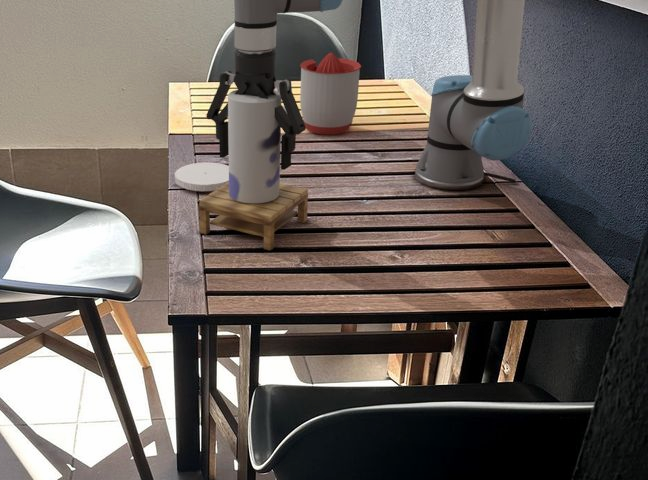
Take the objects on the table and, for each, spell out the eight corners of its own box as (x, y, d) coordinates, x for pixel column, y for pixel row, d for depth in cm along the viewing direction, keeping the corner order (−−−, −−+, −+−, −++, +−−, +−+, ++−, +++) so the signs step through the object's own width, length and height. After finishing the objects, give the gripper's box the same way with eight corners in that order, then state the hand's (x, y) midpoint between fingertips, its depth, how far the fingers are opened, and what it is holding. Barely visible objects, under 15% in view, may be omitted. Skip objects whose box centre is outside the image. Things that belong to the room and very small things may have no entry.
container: (275, 206, 156) (277, 102, 146) (224, 202, 158) (222, 100, 147) (282, 186, 164) (285, 88, 154) (234, 183, 166) (233, 85, 156)
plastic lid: (240, 174, 190) (240, 163, 188) (231, 197, 178) (231, 186, 177) (182, 171, 192) (181, 161, 190) (169, 193, 180) (168, 183, 179)
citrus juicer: (344, 116, 227) (349, 43, 217) (364, 136, 212) (370, 58, 202) (290, 120, 225) (292, 45, 214) (306, 140, 210) (309, 61, 200)
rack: (307, 220, 167) (308, 188, 163) (270, 250, 155) (270, 217, 151) (239, 205, 174) (239, 174, 170) (199, 233, 162) (198, 200, 159)
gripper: (327, 52, 144) (321, 166, 155) (207, 38, 155) (210, 145, 166) (308, 61, 138) (304, 179, 149) (186, 46, 149) (190, 156, 160)
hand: (254, 161), depth 157 cm, fingers open, 13 cm apart
